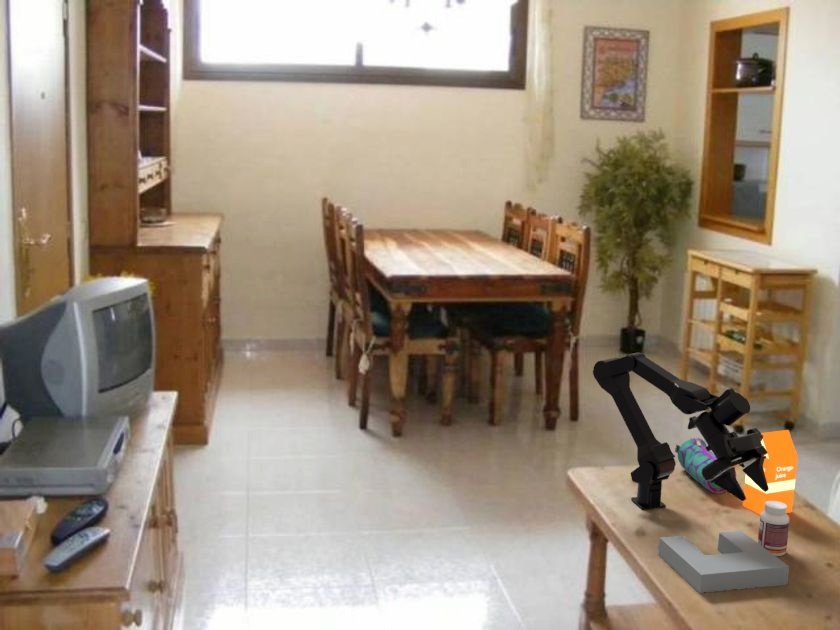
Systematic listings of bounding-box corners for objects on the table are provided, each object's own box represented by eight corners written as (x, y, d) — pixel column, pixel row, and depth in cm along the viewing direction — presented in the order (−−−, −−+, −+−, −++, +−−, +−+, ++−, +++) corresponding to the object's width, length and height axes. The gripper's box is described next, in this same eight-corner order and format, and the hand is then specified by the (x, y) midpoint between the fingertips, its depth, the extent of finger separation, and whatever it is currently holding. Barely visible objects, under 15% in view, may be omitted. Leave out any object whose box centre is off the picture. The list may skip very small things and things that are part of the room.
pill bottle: (792, 553, 219) (797, 506, 217) (774, 559, 216) (779, 512, 214) (768, 543, 224) (773, 497, 222) (750, 549, 221) (755, 502, 219)
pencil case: (673, 467, 271) (675, 434, 269) (703, 467, 272) (706, 433, 270) (703, 496, 251) (707, 460, 249) (737, 495, 252) (740, 460, 250)
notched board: (658, 554, 217) (659, 537, 216) (739, 547, 221) (741, 530, 221) (699, 593, 200) (701, 574, 199) (787, 584, 204) (789, 566, 204)
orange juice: (792, 512, 242) (800, 434, 238) (763, 517, 239) (771, 438, 235) (769, 500, 249) (777, 424, 245) (741, 505, 246) (749, 428, 242)
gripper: (717, 425, 216) (758, 488, 210) (763, 410, 228) (803, 469, 222) (684, 450, 224) (722, 511, 218) (730, 434, 235) (768, 492, 229)
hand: (755, 495), depth 221 cm, fingers open, 9 cm apart
